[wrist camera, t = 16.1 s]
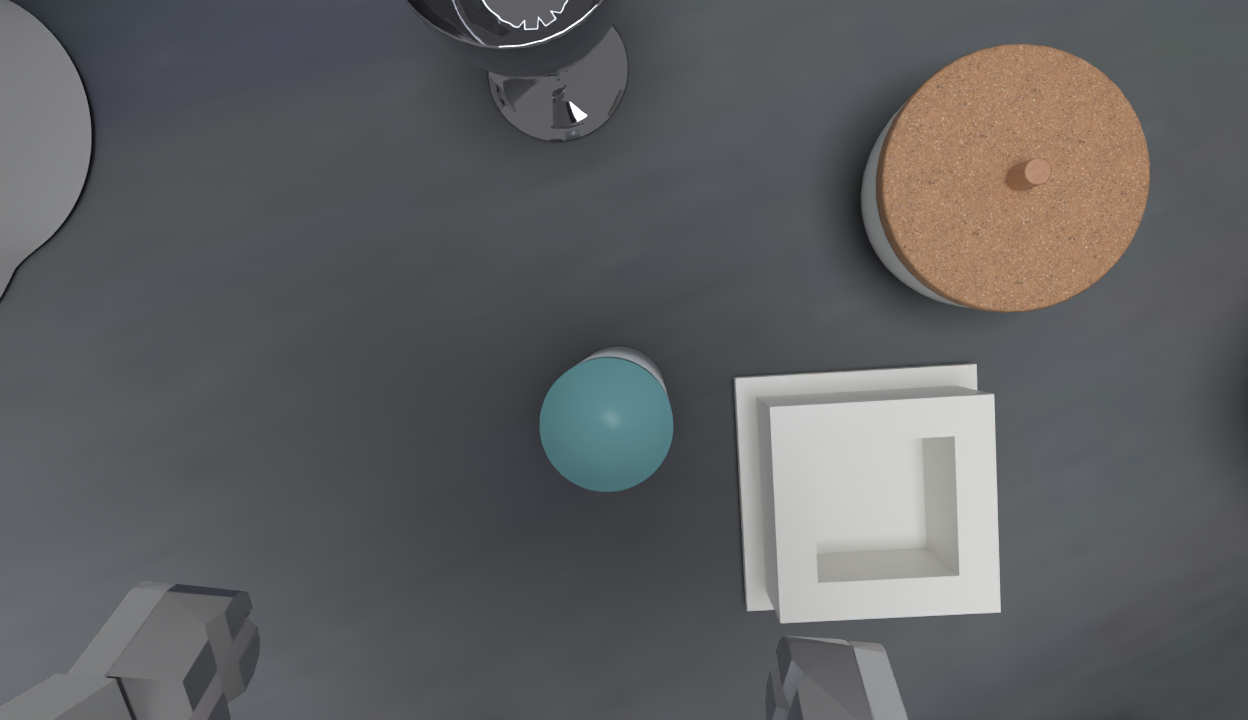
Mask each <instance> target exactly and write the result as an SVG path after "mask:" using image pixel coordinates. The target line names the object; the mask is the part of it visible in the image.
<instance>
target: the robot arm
mask: <svg viewBox="0 0 1248 720" xmlns="http://www.w3.org/2000/svg"><path fill="white" fill-rule="evenodd" d="M90 154H91V119H90V112H89V107H88V102H87V98H86V94H85V91H84V88H83V85H82V82H81V79H80V77H79V75H78V73H77V70H76V68H75V66H74V65H73V63H72V61H71V59H70V57H69V56H68V54H67V53H66V51H65V50H64V48H63V47H62V45H61V44H60V43H59V41H58V40H57V39H56V38H55V36H54V35H53V34H52V33H51V32H50V31H49V30H48V29H47V28H46V27H45V26H44V25H43V24H42V23H41V22H40V21H39V20H38V19H36V18H35V17H34V16H33V15H31V14H30V13H29V12H27V11H26V10H24V9H23V8H21V7H20V6H18V5H17V4H15V3H13V2H11V1H10V0H0V297H1V296H2V294H3V292H4V290H5V288H6V286H7V285H8V283H9V281H10V278H11V276H12V274H13V272H14V270H15V268H16V267H17V266H18V265H19V264H20V263H21V262H22V261H23V260H24V259H25V258H26V257H27V256H28V255H29V254H31V253H32V252H33V251H34V250H36V249H37V248H38V247H39V246H41V245H42V244H43V243H44V242H45V241H47V240H48V239H49V238H50V237H51V236H52V235H53V234H54V233H55V232H56V230H57V229H58V228H59V227H60V226H61V224H62V223H63V222H64V221H65V219H66V218H67V216H68V215H69V213H70V212H71V210H72V208H73V207H74V205H75V203H76V201H77V199H78V197H79V194H80V192H81V190H82V187H83V184H84V181H85V178H86V175H87V171H88V166H89V161H90ZM251 609H252V604H251V600H250V597H249V593H248V592H243V591H235V590H226V589H217V588H208V587H199V586H190V585H181V584H170V583H160V582H149V581H142V582H141V583H139V584H138V585H136V586H135V587H133V588H132V589H131V590H130V591H129V592H128V594H127V595H126V596H125V598H124V599H123V600H122V602H121V603H120V604H119V606H118V607H117V608H116V610H115V611H114V612H113V613H112V615H111V616H110V617H109V619H108V620H107V621H106V623H105V624H104V625H103V627H102V628H101V629H100V631H99V632H98V633H97V634H96V636H95V637H94V638H93V640H92V641H91V642H90V644H89V645H88V646H87V648H86V649H85V650H84V652H83V653H82V654H81V655H80V657H79V658H78V659H77V661H76V662H75V663H74V665H73V666H72V667H71V669H70V670H69V671H68V673H67V674H54V675H53V676H51V677H49V678H48V679H46V680H44V681H43V682H41V683H39V684H37V685H36V686H34V687H32V688H31V689H29V690H27V691H26V692H24V693H22V694H21V695H19V696H17V697H16V698H14V699H12V700H11V701H9V702H7V703H6V704H4V705H2V706H1V707H0V720H231V717H230V713H229V709H228V703H230V702H231V701H232V700H234V699H235V698H236V697H238V696H239V695H241V694H242V693H243V692H245V690H246V688H247V686H248V684H249V682H250V680H251V678H252V676H253V674H254V671H255V667H256V663H257V660H258V656H259V645H260V638H259V633H258V628H257V627H256V626H255V625H254V624H253V623H252V622H251V621H249V620H248V619H247V617H248V615H249V613H250V611H251ZM776 653H777V660H778V665H777V666H776V667H774V668H773V669H771V670H770V674H769V678H768V682H767V688H766V700H765V705H766V720H908V717H907V714H906V711H905V708H904V705H903V702H902V699H901V696H900V693H899V690H898V687H897V683H896V680H895V677H894V674H893V671H892V668H891V665H890V662H889V659H888V656H887V653H886V650H885V649H884V647H883V646H882V645H881V644H880V643H869V642H857V641H845V640H840V639H826V638H812V637H798V636H783V637H782V638H781V639H780V640H779V643H778V647H777V650H776Z"/></svg>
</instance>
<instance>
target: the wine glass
mask: <svg viewBox="0 0 1248 720" xmlns="http://www.w3.org/2000/svg"><path fill="white" fill-rule="evenodd" d="M405 1H406V2H407V4H408V5H409V6H410V8H411V9H412V10H413V12H414V13H415V14H416V15H417V16H418V18H419V19H420V20H421V21H422V22H423V23H424V24H425V25H426V26H427V27H428V29H429V30H430V31H431V32H432V33H433V34H434V35H435V36H436V37H437V38H438V39H439V40H440V41H441V42H442V43H443V44H444V45H446V46H447V47H448V48H449V49H451V50H452V51H453V52H455V53H456V54H457V55H459V56H460V57H462V58H463V59H465V60H466V61H468V62H470V63H472V64H474V65H476V66H478V67H479V68H481V69H483V70H486V71H487V78H488V84H489V88H490V92H491V95H492V97H493V100H494V102H495V104H496V106H497V107H498V109H499V110H500V112H501V114H502V115H503V116H504V117H505V118H506V119H507V120H508V121H509V123H510V124H512V125H513V126H514V127H516V128H517V129H518V130H519V131H521V132H523V133H525V134H527V135H529V136H531V137H533V138H537V139H540V140H543V141H551V142H564V141H571V140H575V139H579V138H582V137H584V136H586V135H589V134H591V133H592V132H594V131H595V130H597V129H598V128H600V127H601V126H602V125H603V124H604V123H605V122H606V121H608V120H609V119H610V117H611V116H612V115H613V113H614V112H615V111H616V109H617V108H618V106H619V104H620V102H621V100H622V98H623V95H624V92H625V89H626V86H627V79H628V59H627V54H626V50H625V46H624V44H623V41H622V39H621V36H620V35H619V33H618V31H617V30H616V28H615V27H614V25H613V23H614V21H615V19H616V17H617V15H618V13H619V11H620V8H621V4H622V1H623V0H405Z"/></svg>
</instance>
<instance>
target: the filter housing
mask: <svg viewBox="0 0 1248 720" xmlns="http://www.w3.org/2000/svg"><path fill="white" fill-rule="evenodd" d="M733 379H734V399H735V418H736V437H737V456H738V475H739V494H740V513H741V532H742V552H743V571H744V590H745V606H746V609H747V611H760V610H775V612H776V615H777V617H778V619H779V621H780V623H796V622H816V621H836V620H856V619H876V618H896V617H916V616H936V615H956V614H976V613H997V612H1001V606H1000V573H999V540H998V508H997V475H996V442H995V409H994V394H991V393H987V392H983V391H979V390H977V365H976V364H972V363H963V364H946V365H929V366H912V367H895V368H878V369H861V370H844V371H827V372H810V373H793V374H776V375H759V376H742V377H733Z"/></svg>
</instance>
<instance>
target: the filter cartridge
mask: <svg viewBox="0 0 1248 720" xmlns="http://www.w3.org/2000/svg"><path fill="white" fill-rule="evenodd" d="M539 429H540V437H541V441H542V445H543V448H544V450H545V453H546V455H547V457H548V458H549V460H550V462H551V463H552V464H553V466H554V467H555V468H556V469H557V470H558V472H559V473H560V474H561V475H563V476H564V477H565V478H566V479H568V480H569V481H571V482H572V483H574V484H576V485H578V486H580V487H583V488H585V489H589V490H593V491H599V492H614V491H621V490H625V489H628V488H631V487H633V486H636V485H637V484H639V483H641V482H643V481H644V480H646V479H647V478H648V477H650V476H651V475H652V474H653V473H654V472H655V471H656V470H657V469H658V467H659V466H660V465H661V464H662V462H663V460H664V459H665V457H666V455H667V453H668V451H669V448H670V445H671V441H672V436H673V415H672V410H671V406H670V403H669V399H668V395H667V391H666V387H665V384H664V380H663V377H662V374H661V372H660V370H659V368H658V367H657V365H656V364H655V363H654V362H653V361H652V360H651V359H650V358H649V357H648V356H647V355H645V354H644V353H642V352H640V351H638V350H636V349H633V348H630V347H624V346H614V347H608V348H604V349H602V350H599V351H597V352H595V353H594V354H592V355H591V356H589V357H588V358H586V359H585V360H583V361H582V362H580V363H578V364H577V365H575V366H574V367H572V368H571V369H569V370H568V371H567V372H565V373H564V374H563V375H562V376H561V377H560V378H559V379H558V380H557V381H556V382H555V383H554V384H553V386H552V387H551V388H550V390H549V392H548V393H547V395H546V397H545V400H544V402H543V405H542V409H541V413H540V427H539Z"/></svg>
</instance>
